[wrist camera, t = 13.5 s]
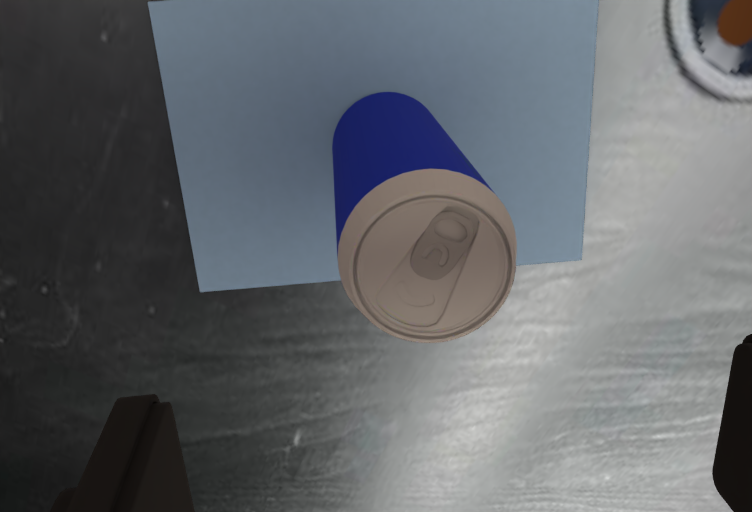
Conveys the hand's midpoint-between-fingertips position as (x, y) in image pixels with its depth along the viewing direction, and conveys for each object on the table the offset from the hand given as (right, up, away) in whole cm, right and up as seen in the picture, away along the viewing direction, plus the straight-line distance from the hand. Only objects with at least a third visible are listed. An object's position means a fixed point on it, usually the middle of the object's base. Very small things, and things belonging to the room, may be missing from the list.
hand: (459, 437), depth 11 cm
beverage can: (-1, +8, +21) cm, 23 cm away
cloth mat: (-1, +9, +21) cm, 23 cm away
